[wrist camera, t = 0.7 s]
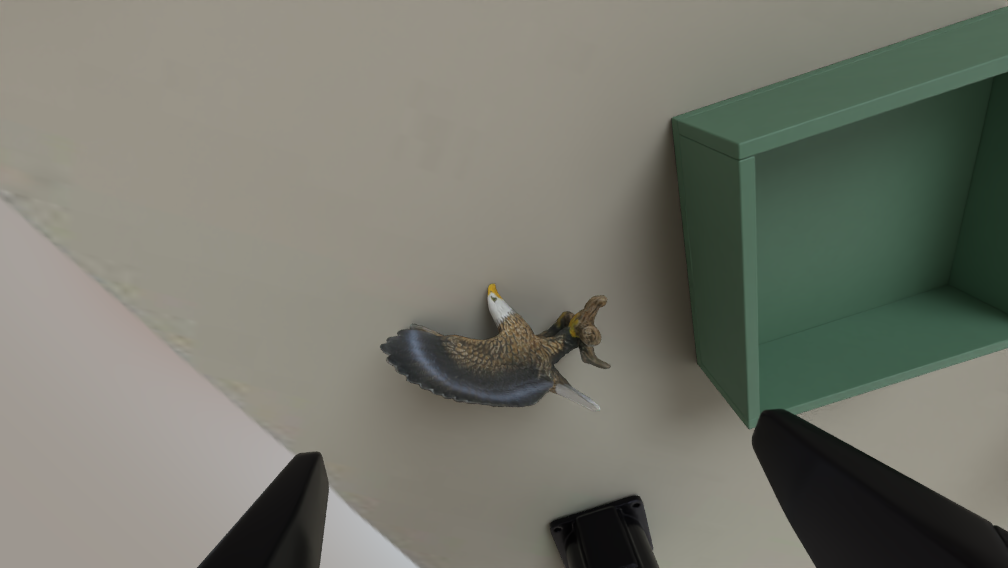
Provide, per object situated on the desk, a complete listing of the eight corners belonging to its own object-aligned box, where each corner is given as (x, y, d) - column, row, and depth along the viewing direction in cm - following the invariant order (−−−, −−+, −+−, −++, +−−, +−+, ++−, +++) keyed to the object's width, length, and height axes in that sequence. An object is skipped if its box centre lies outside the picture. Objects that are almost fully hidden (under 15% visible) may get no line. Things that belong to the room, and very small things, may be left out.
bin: (945, 284, 27) (1047, 336, 22) (696, 363, 27) (748, 430, 23) (1007, 5, 20) (1173, 0, 15) (670, 117, 20) (738, 143, 16)
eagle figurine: (563, 219, 20) (360, 291, 19) (649, 365, 17) (413, 466, 16) (551, 298, 27) (400, 355, 26) (611, 414, 24) (443, 488, 22)
